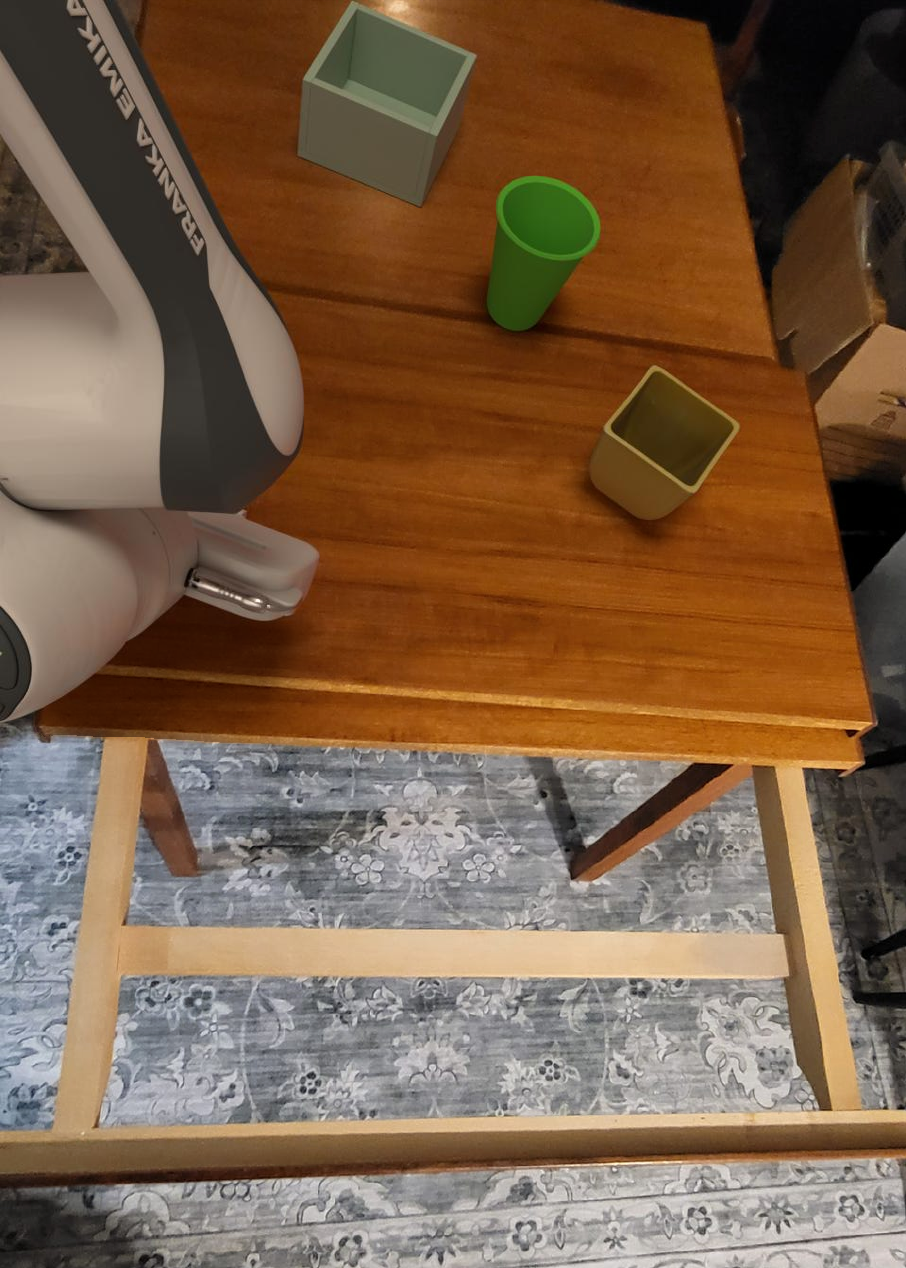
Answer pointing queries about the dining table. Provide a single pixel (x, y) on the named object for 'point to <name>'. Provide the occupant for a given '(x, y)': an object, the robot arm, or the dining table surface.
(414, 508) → the dining table surface
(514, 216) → the cup
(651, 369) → the flower pot
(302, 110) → the bin
